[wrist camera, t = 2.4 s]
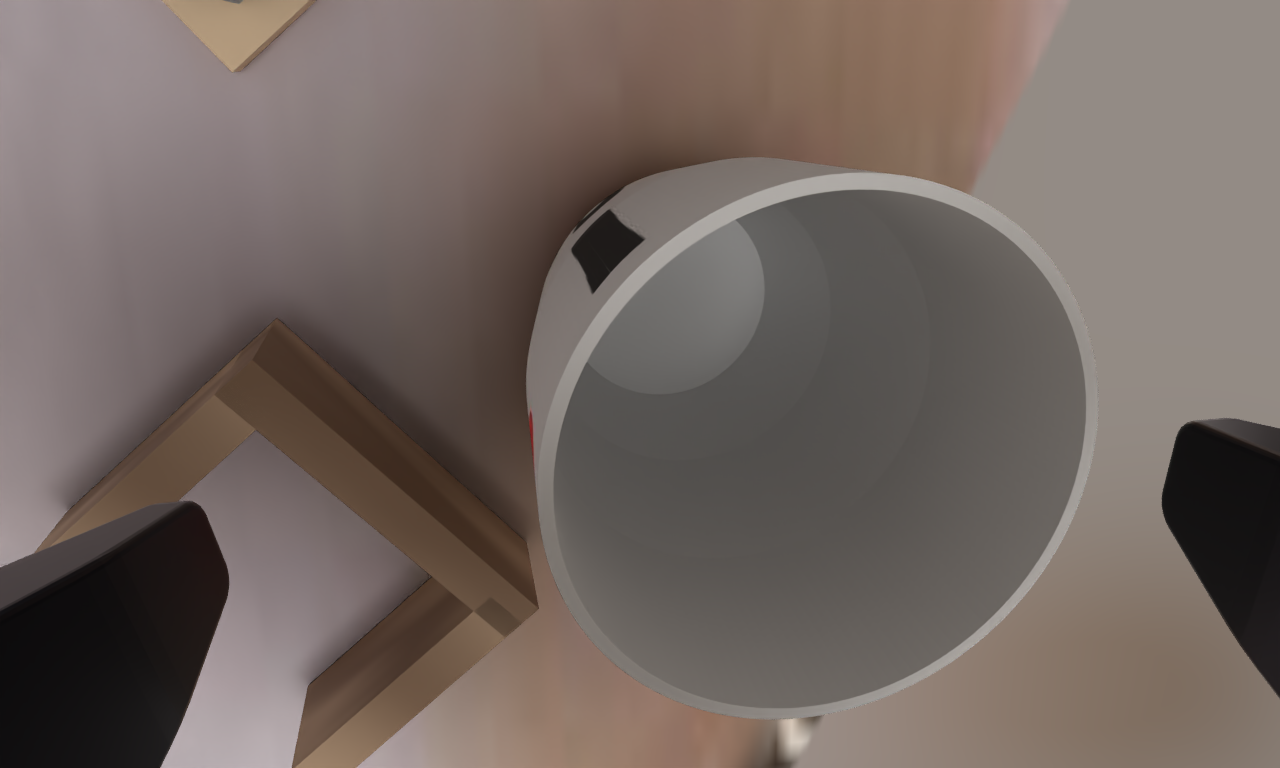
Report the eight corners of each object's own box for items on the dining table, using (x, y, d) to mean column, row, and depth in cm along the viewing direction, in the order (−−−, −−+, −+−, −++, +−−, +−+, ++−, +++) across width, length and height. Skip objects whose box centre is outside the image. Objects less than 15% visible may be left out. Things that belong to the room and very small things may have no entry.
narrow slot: (337, 708, 24) (325, 794, 21) (66, 512, 21) (10, 582, 18) (526, 542, 23) (538, 608, 21) (276, 317, 20) (252, 360, 18)
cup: (527, 82, 20) (606, 109, 11) (869, 157, 22) (1184, 235, 13) (467, 433, 22) (489, 707, 13) (781, 472, 24) (993, 731, 15)
